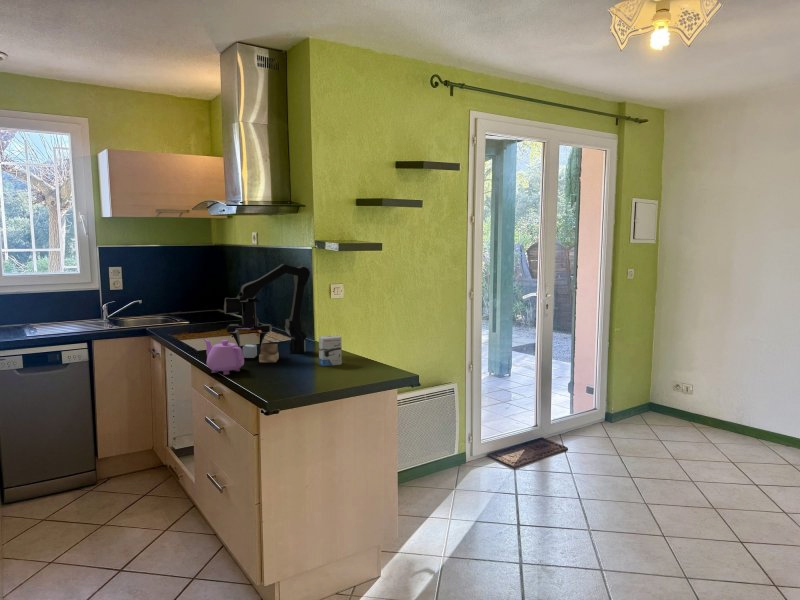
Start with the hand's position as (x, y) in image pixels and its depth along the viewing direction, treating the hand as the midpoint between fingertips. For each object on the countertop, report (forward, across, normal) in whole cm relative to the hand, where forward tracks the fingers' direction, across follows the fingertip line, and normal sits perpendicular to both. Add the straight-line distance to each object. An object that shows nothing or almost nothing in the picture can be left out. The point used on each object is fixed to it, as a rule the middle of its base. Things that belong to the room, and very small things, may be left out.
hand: (249, 347), depth 247 cm
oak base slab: (+4, -10, +8) cm, 14 cm away
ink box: (+4, -37, +16) cm, 40 cm away
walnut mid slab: (+1, -10, +8) cm, 13 cm away
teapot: (+4, +4, +27) cm, 28 cm away
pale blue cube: (+4, 0, 0) cm, 4 cm away
